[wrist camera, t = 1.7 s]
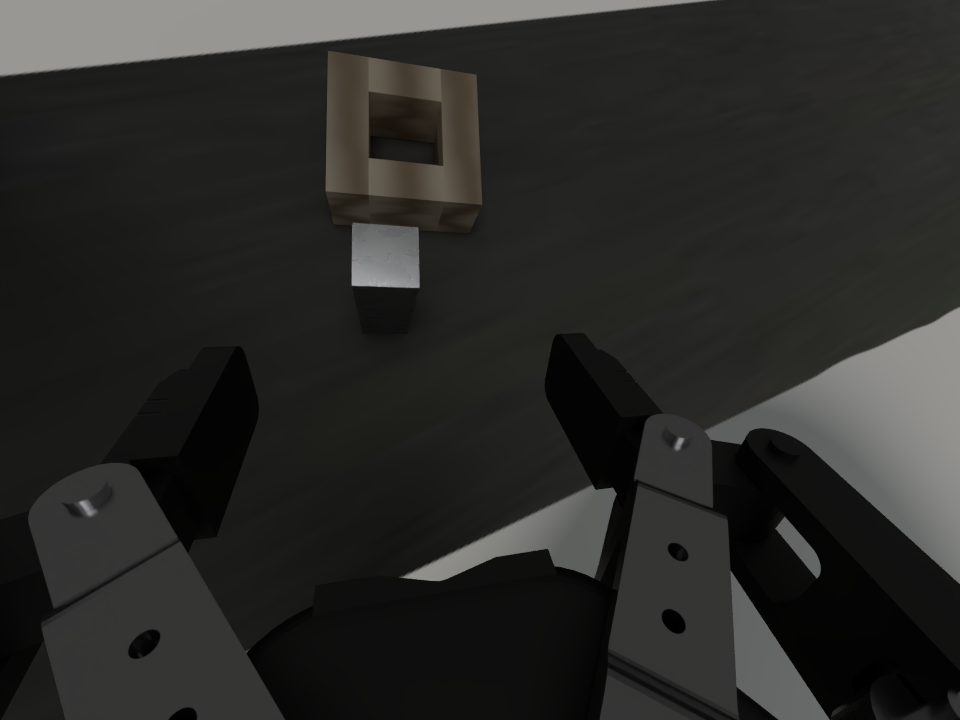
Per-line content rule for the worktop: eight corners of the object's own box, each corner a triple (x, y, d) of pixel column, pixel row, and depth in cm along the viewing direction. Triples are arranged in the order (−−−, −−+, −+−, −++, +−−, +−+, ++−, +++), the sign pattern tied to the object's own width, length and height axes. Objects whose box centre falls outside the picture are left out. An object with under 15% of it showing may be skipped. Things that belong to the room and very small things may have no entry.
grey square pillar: (362, 332, 40) (351, 285, 27) (362, 290, 41) (352, 222, 27) (407, 333, 41) (419, 287, 28) (406, 291, 42) (418, 227, 28)
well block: (333, 224, 41) (325, 191, 35) (335, 100, 43) (328, 50, 38) (469, 233, 44) (482, 204, 39) (464, 118, 47) (476, 74, 41)
